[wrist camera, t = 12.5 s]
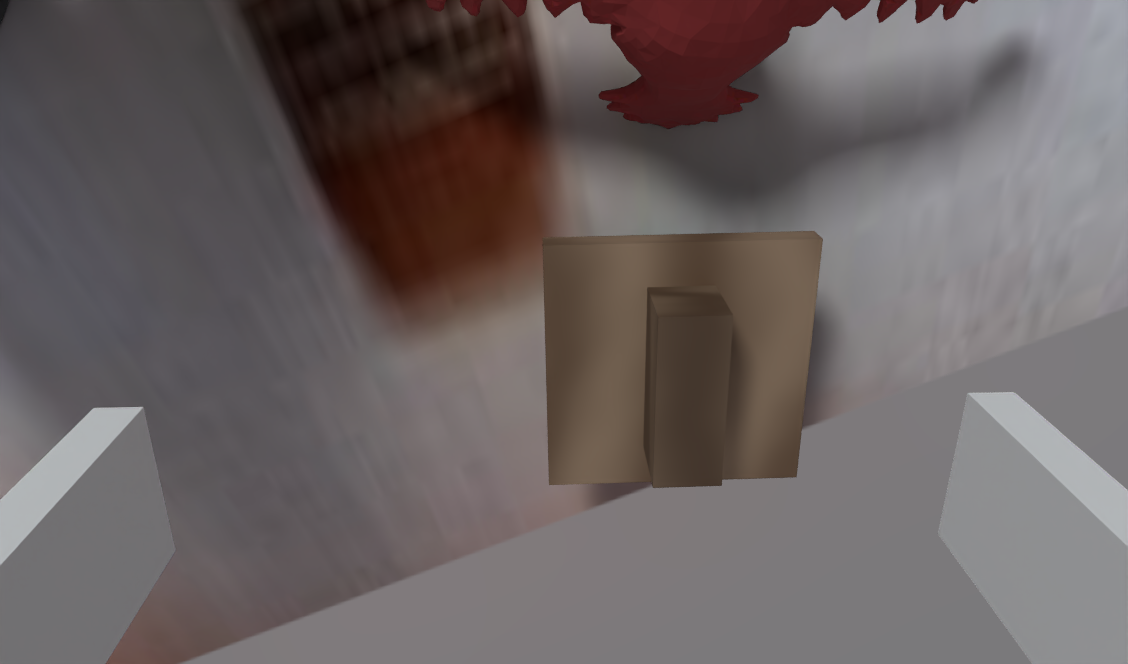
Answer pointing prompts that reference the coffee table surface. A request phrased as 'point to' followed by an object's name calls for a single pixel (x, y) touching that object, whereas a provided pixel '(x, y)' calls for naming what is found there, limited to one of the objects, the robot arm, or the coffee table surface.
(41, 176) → the coffee table surface
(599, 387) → the walnut lid
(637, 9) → the decorative bird sculpture
